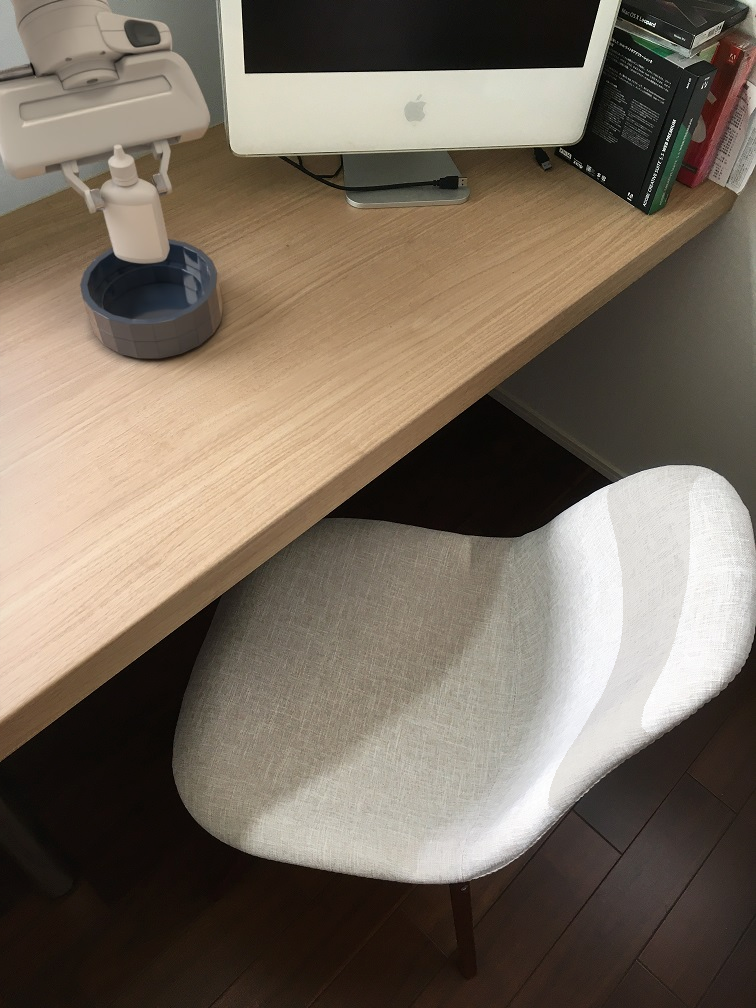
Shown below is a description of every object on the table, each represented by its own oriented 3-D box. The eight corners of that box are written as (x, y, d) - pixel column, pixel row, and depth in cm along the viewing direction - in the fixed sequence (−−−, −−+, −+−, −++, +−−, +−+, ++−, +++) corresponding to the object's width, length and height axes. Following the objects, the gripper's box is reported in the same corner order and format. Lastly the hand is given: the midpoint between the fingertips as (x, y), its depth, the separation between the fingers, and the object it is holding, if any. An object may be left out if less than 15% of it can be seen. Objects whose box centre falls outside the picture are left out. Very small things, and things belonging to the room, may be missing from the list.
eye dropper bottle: (149, 274, 81) (123, 167, 72) (108, 255, 83) (78, 147, 73) (177, 253, 84) (156, 146, 74) (137, 234, 85) (111, 127, 75)
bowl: (104, 375, 85) (91, 336, 80) (84, 291, 93) (71, 251, 88) (236, 346, 88) (231, 307, 84) (206, 267, 96) (200, 228, 92)
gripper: (-41, 61, 68) (23, 220, 71) (183, 21, 75) (233, 169, 78) (-33, 89, 74) (27, 235, 77) (174, 50, 81) (221, 186, 84)
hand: (132, 202), depth 78 cm, fingers closed on eye dropper bottle, 5 cm apart
